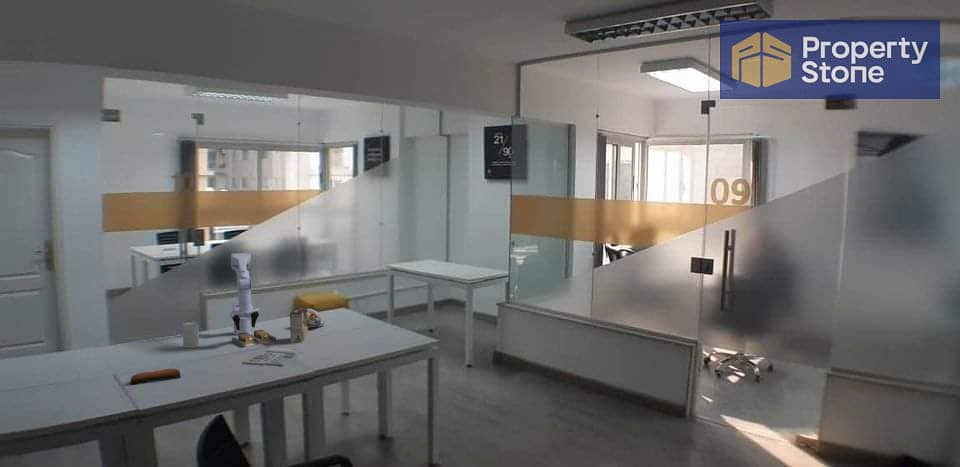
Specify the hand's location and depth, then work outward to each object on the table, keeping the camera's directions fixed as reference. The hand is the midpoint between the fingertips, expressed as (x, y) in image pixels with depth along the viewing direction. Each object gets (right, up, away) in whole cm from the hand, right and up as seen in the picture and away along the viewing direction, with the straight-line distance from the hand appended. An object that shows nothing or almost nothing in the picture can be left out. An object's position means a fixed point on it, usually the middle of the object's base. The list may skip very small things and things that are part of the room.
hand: (245, 328), depth 287 cm
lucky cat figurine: (+24, -5, +34) cm, 42 cm away
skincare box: (-25, -8, -6) cm, 27 cm away
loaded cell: (+6, -7, +6) cm, 11 cm away
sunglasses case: (-17, -13, -51) cm, 55 cm away
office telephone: (+23, -11, -21) cm, 33 cm away
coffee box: (+25, -8, +6) cm, 27 cm away
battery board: (+3, -8, +3) cm, 9 cm away
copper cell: (0, -7, +1) cm, 7 cm away
